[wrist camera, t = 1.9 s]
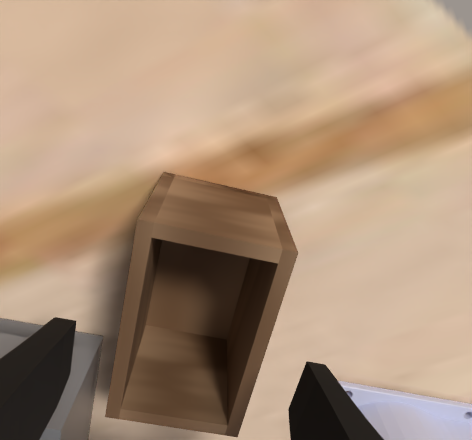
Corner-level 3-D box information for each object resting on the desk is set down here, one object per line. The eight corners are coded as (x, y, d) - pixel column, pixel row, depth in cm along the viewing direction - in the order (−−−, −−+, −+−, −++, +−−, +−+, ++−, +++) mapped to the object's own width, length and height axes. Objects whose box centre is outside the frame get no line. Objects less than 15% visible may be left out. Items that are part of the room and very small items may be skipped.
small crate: (276, 197, 17) (298, 252, 12) (234, 343, 20) (237, 437, 15) (163, 171, 17) (137, 218, 12) (135, 325, 20) (105, 416, 15)
